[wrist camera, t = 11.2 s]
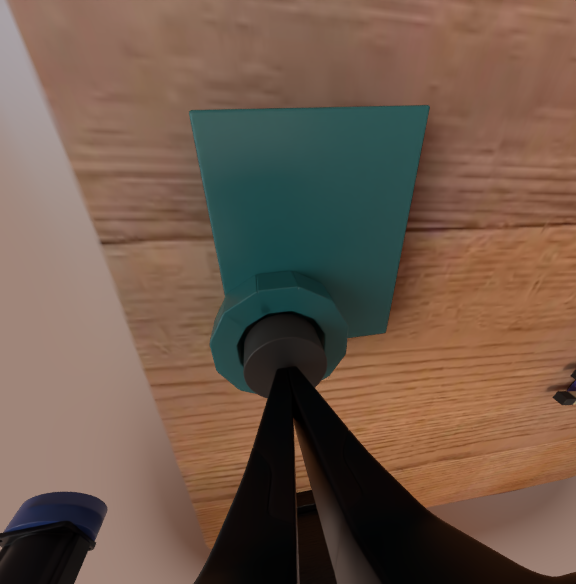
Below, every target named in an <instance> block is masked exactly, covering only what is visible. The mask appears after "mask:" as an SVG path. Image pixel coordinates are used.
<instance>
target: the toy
mask: <svg viewBox="0 0 576 584" xmlns="http://www.w3.org/2000/svg"><path fill="white" fill-rule="evenodd" d="M571 377H573V378H574V379H576V370H575V371H574V372H573V373H572V374H571ZM553 398H554V399H555V400H556V401H558V402H559V403H560V404H561V405H576V380H575V382H574V383H573V384H572V385H571V386H570V388H569V389H568V390H567V391H561V392H557V393H556V394H555V395H554V396H553Z"/></svg>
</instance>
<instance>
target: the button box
mask: <svg viewBox="0 0 576 584" xmlns="http://www.w3.org/2000/svg"><path fill="white" fill-rule="evenodd" d="M429 109H430V106H428V105H412V106H364V107H316V108H269V109H221V110H191V111H189V116H190V121H191V126H192V131H193V136H194V141H195V146H196V151H197V156H198V162H199V167H200V172H201V177H202V182H203V187H204V192H205V197H206V202H207V207H208V212H209V217H210V222H211V227H212V233H213V238H214V243H215V248H216V253H217V258H218V263H219V268H220V273H221V278H222V283H223V288H224V293H225V298H224V301H223V303H222V305H221V307H220V310H219V312H218V314H217V316H216V319H215V321H214V326H213V330H212V334H211V338H210V348H211V352H212V355H213V359H214V363H215V367H216V370H217V371H218V373H219V374H221V375H222V376H223V377H224V378H226V379H227V380H228V381H229V382H230V383H232V384H233V385H234V386H235V387H237V388H238V389H240V390H241V391H246V392H250V393H255V392H253V391H252V390H251V389H250V388H249V387H248V385H247V384H246V382H245V379H244V373H243V370H244V343H245V339H246V336H247V334H248V333H249V331H250V330H251V328H252V327H253V326H254V325H255V324H257V323H258V322H259V321H261V320H263V319H264V318H267V317H269V316H273V315H277V314H292V315H297V316H300V317H302V318H304V319H305V320H307V321H308V322H310V323H311V324H312V326H313V327H314V328H315V330H316V333H317V335H318V338H319V340H320V342H321V345H322V347H323V350H324V352H325V355H326V357H327V370H326V373H325V375H324V377H323V379H325V378H327V377H328V376H330V374H331V373H332V372H333V370H334V369H335V368H336V366H337V365H338V364H339V362H340V361H341V360H342V358H343V357H344V356H345V354H346V347H347V338H352V337H360V336H367V335H375V334H382V333H386V329H387V324H388V319H389V314H390V309H391V304H392V298H393V293H394V288H395V283H396V278H397V273H398V268H399V262H400V257H401V252H402V247H403V242H404V237H405V232H406V227H407V221H408V216H409V211H410V206H411V201H412V196H413V191H414V186H415V180H416V175H417V170H418V165H419V160H420V155H421V150H422V144H423V139H424V134H425V129H426V124H427V119H428V114H429ZM323 379H322V380H323ZM255 394H256V393H255Z"/></svg>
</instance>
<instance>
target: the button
mask: <svg viewBox="0 0 576 584" xmlns="http://www.w3.org/2000/svg"><path fill="white" fill-rule="evenodd" d="M292 366H297V367H298V368H299V370H300V371H301V372H302V373H303V374H304V376H305V377H306V378H307V379H308V380H309V382H310V383H311V384H312V385H313V386H314V388H315V387H316V386H317V385H318V384H319V383H320V381H321V380H322V379H323V377H324V375H325V373H326V370H327V357H326V355H325V352H324V350H323V347H322V345H321V342H320V340H319V338H318V335H317V333H316V330H315V328H314V327H313V326H312V324H311V323H310V322H308V321H307V320H305V319H304V318H302V317H300V316H297V315H292V314H277V315H273V316H269V317H267V318H264V319H263V320H261V321H259V322H258V323H257V324H255V325H254V326H253V327H252V328H251V330H250V331H249V333H248V334H247V336H246V339H245V343H244V370H243V373H244V379H245V382H246V384H247V385H248V387H249V388H250V389H251V390H252V391H253V392H255V393H256V394H258V395H260V396H262V397H265V398H268V396H269V393H270V389H271V386H272V383H273V380H274V376H275V373H276V370H277V369H279V368H288V367H292Z"/></svg>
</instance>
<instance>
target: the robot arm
mask: <svg viewBox="0 0 576 584" xmlns="http://www.w3.org/2000/svg"><path fill="white" fill-rule="evenodd" d="M293 421H294V422H293ZM294 425H295V429H296V433H297V437H298V440H299V444H300V448H301V451H302V455H303V459H304V463H305V466H306V470H307V474H308V477H309V481H310V485H311V488H312V492H313V496H314V499H315V503H316V507H317V510H318V514H319V518H320V521H321V525H322V529H323V532H324V536H325V540H326V543H327V547H328V551H329V554H330V558H331V562H332V565H333V569H334V571H335V577H336V580H337V584H576V572H574V573H570V574H566V575H563V576H558V577H551V576H546V575H542V574H539V573H536V572H534V571H531V570H529V569H527V568H525V567H523V566H521V565H519V564H517V563H515V562H514V561H512V560H510V559H508V558H507V557H505V556H503V555H501V554H500V553H498V552H496V551H495V550H493V549H491V548H489V547H487V546H486V545H484V544H482V543H481V542H479V541H477V540H475V539H474V538H472V537H470V536H469V535H467V534H465V533H463V532H462V531H460V530H458V529H456V528H455V527H453V526H451V525H450V524H448V523H446V522H444V521H443V520H441V519H440V518H438V517H437V516H435V515H434V514H432V513H431V512H430V511H428V510H427V509H426V508H425V507H424V506H423V505H421V504H420V503H419V502H418V501H417V500H416V499H415V498H414V497H413V496H412V495H411V494H410V493H409V492H408V491H407V490H406V489H405V488H404V487H403V486H402V485H401V484H400V483H399V482H398V481H397V480H396V479H395V478H394V477H393V476H392V475H391V474H390V473H389V472H388V471H387V470H386V469H385V468H384V467H383V466H382V465H381V464H380V463H379V462H378V461H377V460H376V459H375V458H374V457H373V456H372V455H371V454H370V453H369V452H368V451H367V450H366V449H365V447H364V446H363V445H362V444H361V443H360V442H359V441H358V439H357V438H356V437H355V436H354V435H353V433H352V432H351V431H350V430H349V429H348V428H347V426H346V425H345V424H344V423H343V422H342V420H341V419H340V418H339V417H338V415H337V414H336V413H335V412H334V411H333V409H332V408H331V407H330V406H329V405H328V403H327V402H326V401H325V400H324V399H323V397H322V396H321V395H320V394H319V393H318V391H317V390H316V389H315V388H314V386H313V385H312V384H311V383H310V382H309V380H308V379H307V378H306V377H305V376H304V374H303V373H302V372H301V371H300V370H299V368H298V367H297V366H292V367H288V368H279V369H277V370H276V373H275V376H274V380H273V383H272V386H271V389H270V393H269V396H268V399H267V403H266V406H265V409H264V412H263V416H262V419H261V422H260V425H259V429H258V432H257V435H256V438H255V442H254V445H253V448H252V451H251V454H250V458H249V461H248V464H247V467H246V470H245V473H244V475H243V478H242V481H241V483H240V486H239V488H238V491H237V493H236V496H235V498H234V500H233V503H232V505H231V507H230V510H229V512H228V514H227V517H226V519H225V521H224V523H223V526H222V528H221V530H220V533H219V535H218V537H217V540H216V542H215V544H214V547H213V549H212V551H211V553H210V555H209V557H208V559H207V561H206V563H205V565H204V567H203V569H202V571H201V572H200V574H199V576H198V578H197V579H196V581H195V582H194V584H300V582H299V555H298V528H297V501H296V474H295V447H294ZM348 430H349V431H348ZM95 545H96V542H95V541H93V540H92V539H91V538H90V537H89V536H87V535H86V534H85V533H84V532H83V531H82V530H80V529H79V528H78V527H77V526H76V525H75V524H73V523H72V522H71V521H60V522H55V523H50V524H45V525H40V526H35V527H30V528H25V529H20V530H14V531H9V532H4V533H0V546H1V547H2V550H1V551H0V584H74V582H75V580H76V578H77V575H78V573H79V571H80V568H81V566H82V563H83V561H84V559H85V557H86V554H87V552H88V551H90V550H93V549H94V547H95Z"/></svg>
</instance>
